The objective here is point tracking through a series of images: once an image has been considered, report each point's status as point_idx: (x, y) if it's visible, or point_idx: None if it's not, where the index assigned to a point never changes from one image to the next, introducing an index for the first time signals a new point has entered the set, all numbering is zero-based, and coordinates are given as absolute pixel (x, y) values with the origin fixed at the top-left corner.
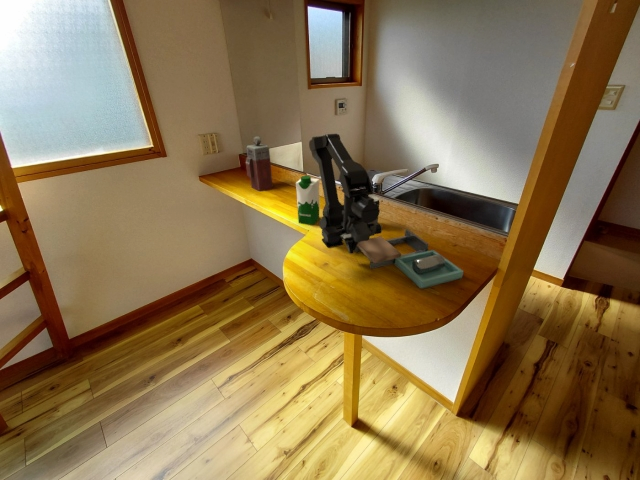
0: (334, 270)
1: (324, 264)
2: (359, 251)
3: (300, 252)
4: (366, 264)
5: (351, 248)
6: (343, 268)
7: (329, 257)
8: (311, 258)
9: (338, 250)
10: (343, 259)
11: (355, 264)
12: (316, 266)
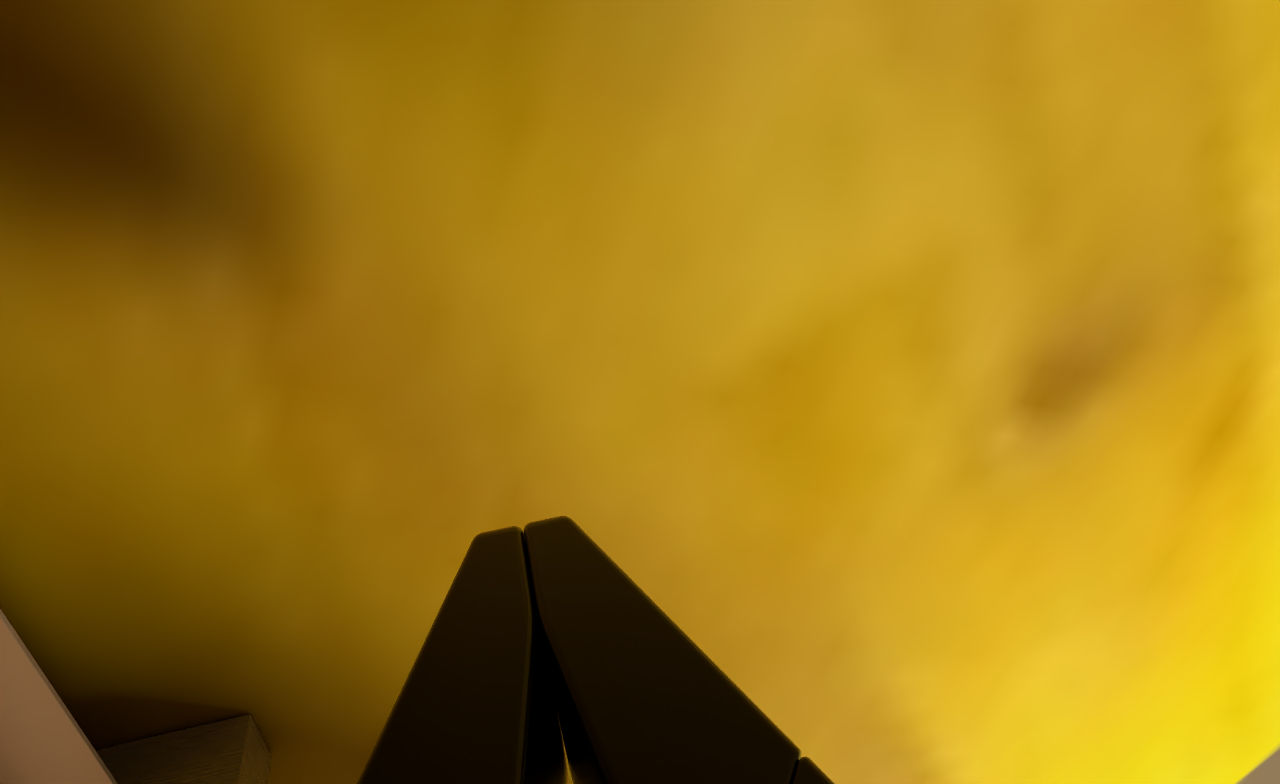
0: (1035, 84)
1: (1096, 374)
2: (154, 749)
3: (1219, 730)
4: (4, 183)
5: (617, 693)
6: (783, 123)
7: (883, 589)
8: (1181, 582)
9: None
10: (633, 501)
11: (385, 250)
12: (1268, 329)
